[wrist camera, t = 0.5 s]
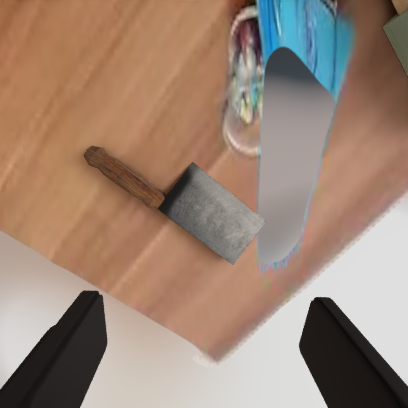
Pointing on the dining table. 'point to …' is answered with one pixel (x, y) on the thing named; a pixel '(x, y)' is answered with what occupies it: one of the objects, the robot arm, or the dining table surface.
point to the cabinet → (399, 37)
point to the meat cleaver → (190, 205)
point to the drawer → (400, 5)
